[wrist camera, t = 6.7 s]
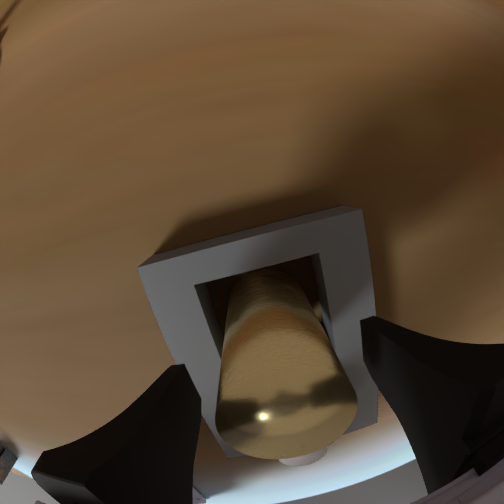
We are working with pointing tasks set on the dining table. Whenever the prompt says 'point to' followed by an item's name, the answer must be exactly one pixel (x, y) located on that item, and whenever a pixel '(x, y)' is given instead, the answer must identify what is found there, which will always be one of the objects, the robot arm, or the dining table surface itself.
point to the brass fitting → (279, 373)
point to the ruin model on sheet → (7, 464)
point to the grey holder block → (254, 257)
